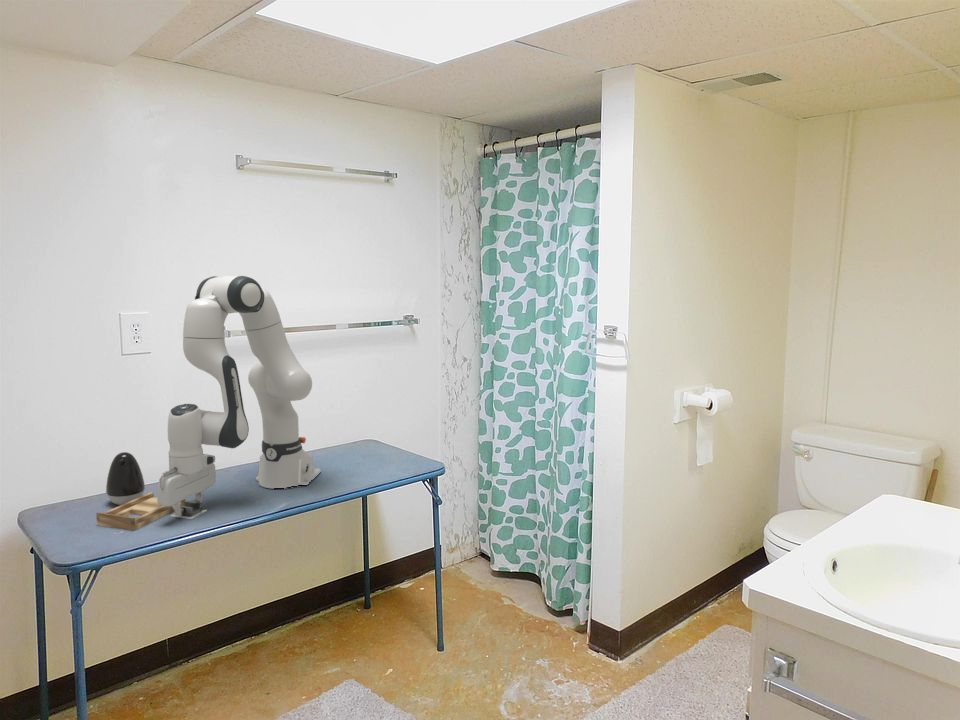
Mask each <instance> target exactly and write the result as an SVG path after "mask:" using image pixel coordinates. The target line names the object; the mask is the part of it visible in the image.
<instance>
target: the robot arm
mask: <svg viewBox="0 0 960 720" xmlns="http://www.w3.org/2000/svg"><path fill="white" fill-rule="evenodd" d="M235 313H236V314H237V313H238V314H239V316H240V317H241V319H242V323H243V326H244V331H245V334H246V337H247V339H248V343H249V346H250V350H251V352H252V354H253V355H254V356H255V358H257V359H258V360H259V363H256V364H254V365H253V366H252V367H251V368H250V370H249V372H248V384H249V385H250V386H249V387H251V389H253V391H254V393H255V396H256V399H257V402H258V406H259V409H260V413H261V420H262V440H261V455H260V456H259V462H258V463H259V464H258V475H257V476H256V477H255V481H257V482H258V485H259V486H261V487H262V488H266V489H274V488H284V489H287V488H286V487H291V486H295V485H302V484H307V483H309V482H310V481H311V480H312V479H313V478H314V477H315V476H316V475H317V474H318V473H319V472H320V470H321V469H320V468H319V467H315V466H314V465H315V464H314V458H313V456H312V455H311V454H310V453H309V452H307V451H305V450H304V449H303V446H302V444H305V443H306V441H307V438H306V437H305V436H302V437H301V436H300V435H299V431H300V430H299V414H298V412H297V411H296V410H295V408H294V406H293V404H292V401H293V402H294V401H295V402H296V401H301V400H304V399H306V398H307V397H308V396H309V395H310V393H311V391H312V389H313V388H312V387H313V381H312V377H311V375H310V374H309V373H308V372H307V371H306V370H305V369H304V368H303V366H302V364H301V363H300V362H299V360H298V358H297V357H296V356H295V354H294V352H293V350H292V349H291V347H290V344H289V342H288V339H287V336H286V332H285V330H284V326H283V323H282V319H281V316H280V314H279V311H278V307H277V304H276V303H275V301H274V299H273V297H272V295H271V294H270V292H269V291H268V290H266V289H263V288H262V286H261V285H260V283H259V282H258V281H256V280H255V279H254V278H252V277H248V276H246V275H234V274H233V275H232V274H227V275H221V276H220V275H219V276H210V277H207V278H205V279H202V281H201V282H199V284H198V287H197V289H196V295H195V296H194V300H192V301H190V302H189V303H188V304H187V306H186V309H185V314H184V320H183V331H182V349H183V354H184V357H185V358H186V360H187V361H188V362H189V363H190V364H191V365H192V366H194V367H195V368H197V369H199V370H201V371H203V372H205V373H206V374H209V375H210V376H212V377H213V378H215V379H216V380H217V382H218V384H219V386H220V391H221V397H222V404H223V410H224V411H223V412H222V411H210V410H204V409H200V408H199V406H198V405H197V404H195V403H184V404H183V403H182V404H178V405H176V406H174V407H173V408H171V409H170V410H169V413H168V419H167V441H168V443H169V450H168V469H169V470H166V471H164V472H163V473H162V474H161V476H160V477H159V479H158V480H159V481H158V484H157V491H156V492H157V493H156V495H157V496H156V497H157V502H158V504H159V505H161V506H167V507H169V506H172V507H173V509H174V510H175V511H174V514H175V516H178V517H177V518H180V516H182V515H183V514H184V509H181V507H180V505H181V501H182V500H184V499H188V498H190V497H193V496H194V495H195V496H194V500H193V501H194V502H202V500H203V497H204V494H205V490H207V489H209V488H212V487H213V486H215V483H216V481H217V479H216V476H217V472H216V465H215V462H216V456H215V455H213V454H208V453H204V449H203V447H202V446H203V445H206V446H215V447H222V448H227V449H236V448H237V447H239V446H240V445H242V444H243V443H244V442H245V441H246V440H247V438H248V436H249V431H250V430H249V429H250V426H249V423H248V422H249V421H248V419H247V417H246V413H245V408H244V402H243V401H244V400H243V394H242V390H241V383H240V376H239V372H238V366H237V363H236V361H235V358H233V357H231V356H230V354H229V352H228V350H227V347H226V346H227V345H226V340H225V338H226V337H225V322H226V319H227V317H228V315H229V314H235ZM314 468H317V469H314ZM291 488H292V487H291Z"/></svg>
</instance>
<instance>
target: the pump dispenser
mask: <svg viewBox="0 0 960 720" xmlns="http://www.w3.org/2000/svg"><path fill="white" fill-rule="evenodd" d="M145 486H146V484H145V480H144V475H143V472H142V470H141V467H140V464H139V462H138V459H136V457H135V456H134V454H132V453H130V452H128V451H127V452H126V451H125V452H123V451H122V452H119V453H117V454H116V455H115V457H114V458H113V459H112V462H111V464H110V467H109V470H108V474H107V478H106V487H105V493H106V496H108V499H109V500H110V502H112V503H113V504H114V505H118V506H120V505H123V504H125V503H127V502H130V501H132V500H134V499H136V498H139V497H141V496H143V495H144V491H145V489H146V487H145Z"/></svg>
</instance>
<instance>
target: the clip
mask: <svg viewBox="0 0 960 720" xmlns="http://www.w3.org/2000/svg"><path fill="white" fill-rule="evenodd" d="M180 507H181V509H184V514H183V515H182V516H185V517H192V516H194V515H196V514H198V513H200V512H201V511H202V510H203V502H202V501H201V502H194V500H186V501H185V506H180Z"/></svg>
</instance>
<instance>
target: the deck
mask: <svg viewBox="0 0 960 720" xmlns="http://www.w3.org/2000/svg"><path fill="white" fill-rule="evenodd" d="M186 499H187V498H186ZM186 499H184V500H182V501H181V505H180V506H185V501H187V500H186ZM173 512H175V510H174V509H173V507H172V506H169V507H167V506H161V505H159V504H158V502H157V496H155V493H154V491H153V492H152V491H150V492H148V493H145V494H143V495H142V496H141V497H139V498H136V499H134V500H132V501H130V502H127V503H125V504H123V505H118V506H116V507H114V508H112V509H108V510H107V511H105V512H96V513H95V514H96V516H95V517H96V525H97V526H101V527H108V528H113V529H114V528H115V529H122V530H128V531H136V530H138V529H140V528H143V527H145V526H148V525H149V524H150V523H153V522H155V521H156V520H160V519H161V518H162V517H165V516H166V515H169V514H172V513H173ZM130 515H136V516H138V517H132V516H130Z"/></svg>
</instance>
